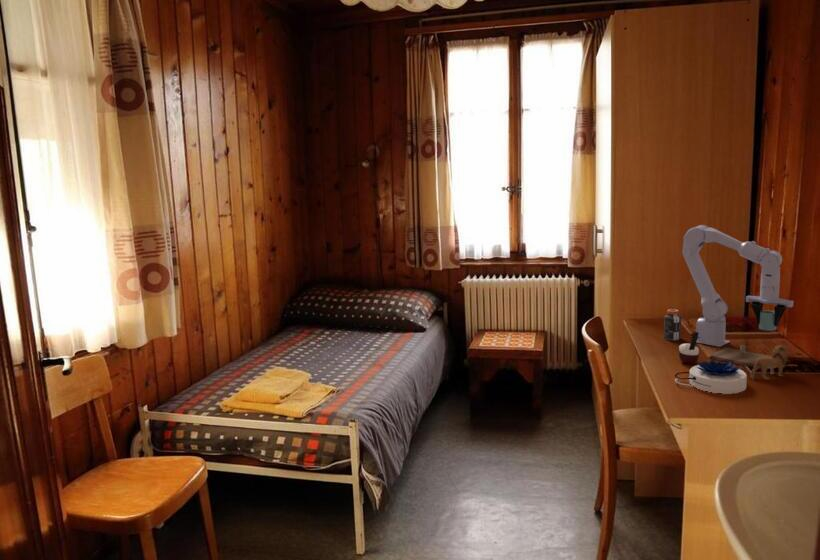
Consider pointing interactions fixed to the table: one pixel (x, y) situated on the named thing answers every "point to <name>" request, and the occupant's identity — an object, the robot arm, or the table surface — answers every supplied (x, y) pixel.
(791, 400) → the table surface
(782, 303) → the robot arm
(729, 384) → the white round gift box
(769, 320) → the grey-green cylinder
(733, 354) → the roll stand
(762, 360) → the lion figurine
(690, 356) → the cocoa
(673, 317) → the pill bottle
